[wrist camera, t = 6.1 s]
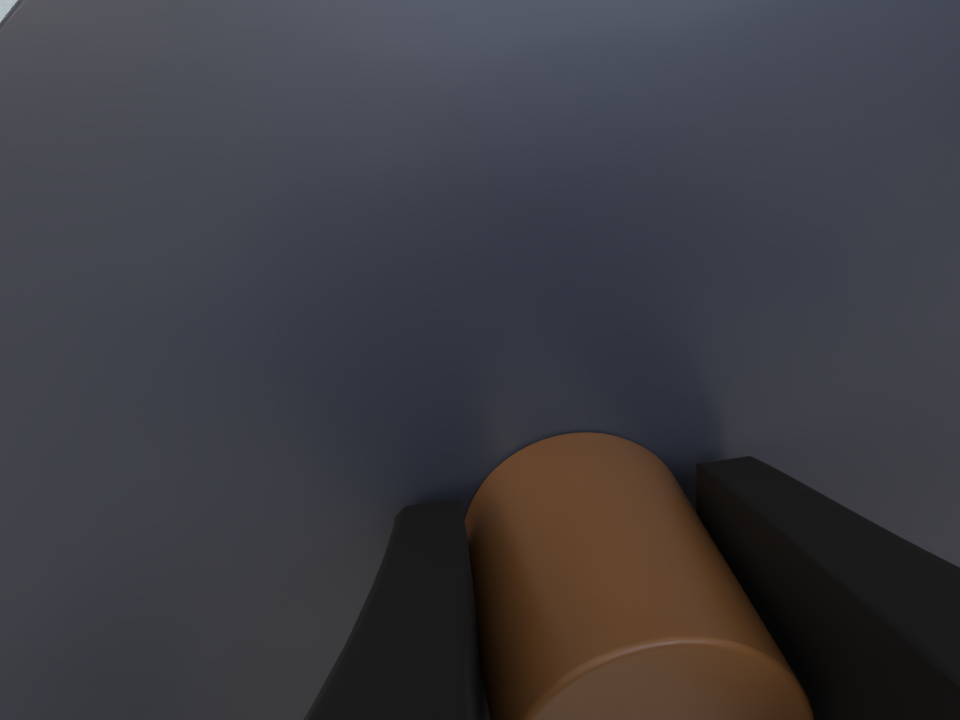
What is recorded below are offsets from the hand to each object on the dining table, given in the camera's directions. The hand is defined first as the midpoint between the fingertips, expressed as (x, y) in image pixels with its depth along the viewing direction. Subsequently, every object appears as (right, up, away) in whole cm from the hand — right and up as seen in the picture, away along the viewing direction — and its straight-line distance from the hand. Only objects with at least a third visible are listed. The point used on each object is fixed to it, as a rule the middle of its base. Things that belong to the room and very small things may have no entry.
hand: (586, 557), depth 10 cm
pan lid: (0, 0, +1) cm, 1 cm away
